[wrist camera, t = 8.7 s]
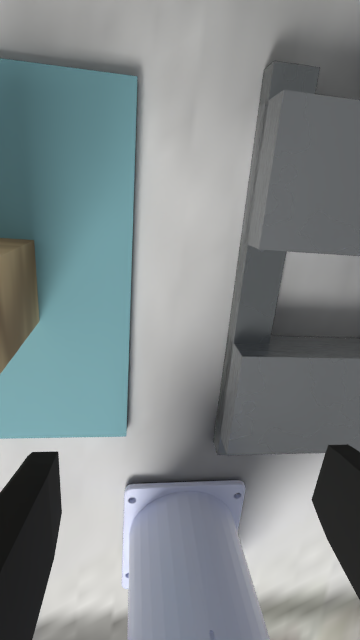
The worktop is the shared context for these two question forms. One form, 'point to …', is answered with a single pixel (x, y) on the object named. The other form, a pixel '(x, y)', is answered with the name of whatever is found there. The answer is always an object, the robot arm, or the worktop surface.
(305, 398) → the vise
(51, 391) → the teal mat
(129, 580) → the robot arm
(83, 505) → the worktop surface
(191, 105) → the worktop surface
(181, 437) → the worktop surface
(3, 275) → the oak peg
